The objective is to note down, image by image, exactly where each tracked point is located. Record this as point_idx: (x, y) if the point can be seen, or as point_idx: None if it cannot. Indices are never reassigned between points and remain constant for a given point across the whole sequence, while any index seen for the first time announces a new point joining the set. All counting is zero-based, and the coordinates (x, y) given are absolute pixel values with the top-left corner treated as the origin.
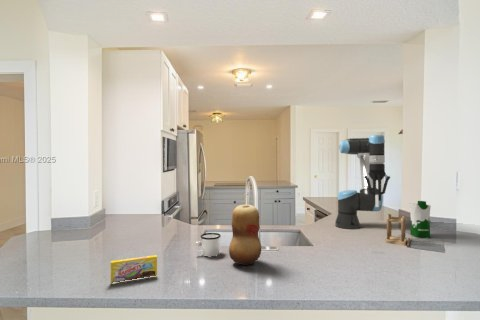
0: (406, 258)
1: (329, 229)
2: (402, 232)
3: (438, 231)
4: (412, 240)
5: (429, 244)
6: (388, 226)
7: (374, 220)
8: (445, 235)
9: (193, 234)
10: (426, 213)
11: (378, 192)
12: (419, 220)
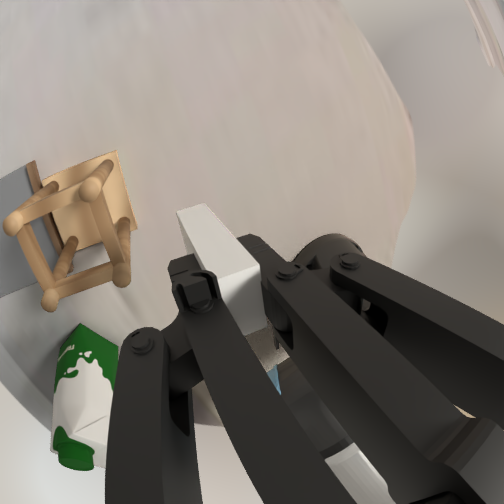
0: (13, 31)
1: (358, 186)
2: (38, 191)
3: None
4: None
5: (8, 265)
6: (94, 170)
7: None
8: None
9: (470, 7)
10: (53, 414)
11: (226, 315)
12: (67, 378)
